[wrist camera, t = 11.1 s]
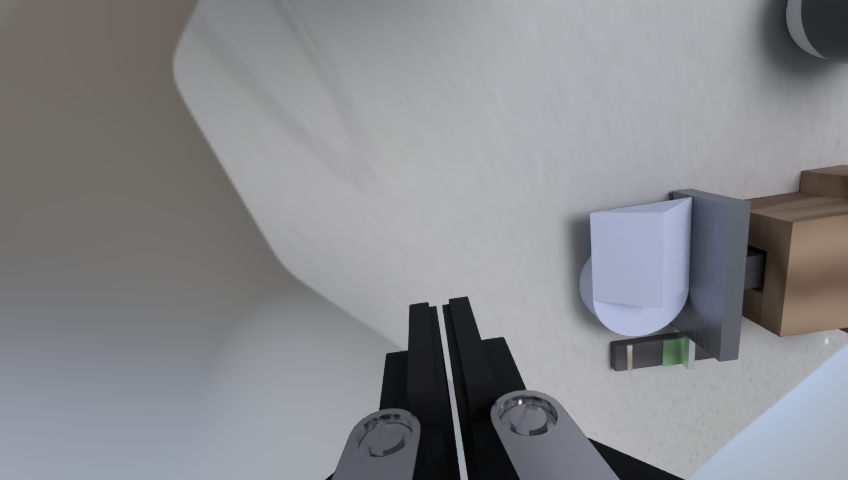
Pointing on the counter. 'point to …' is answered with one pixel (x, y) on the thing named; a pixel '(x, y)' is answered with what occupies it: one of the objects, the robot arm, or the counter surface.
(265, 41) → the counter surface
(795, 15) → the black egg-shaped piece
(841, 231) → the frame
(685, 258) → the wedge on round base
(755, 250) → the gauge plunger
